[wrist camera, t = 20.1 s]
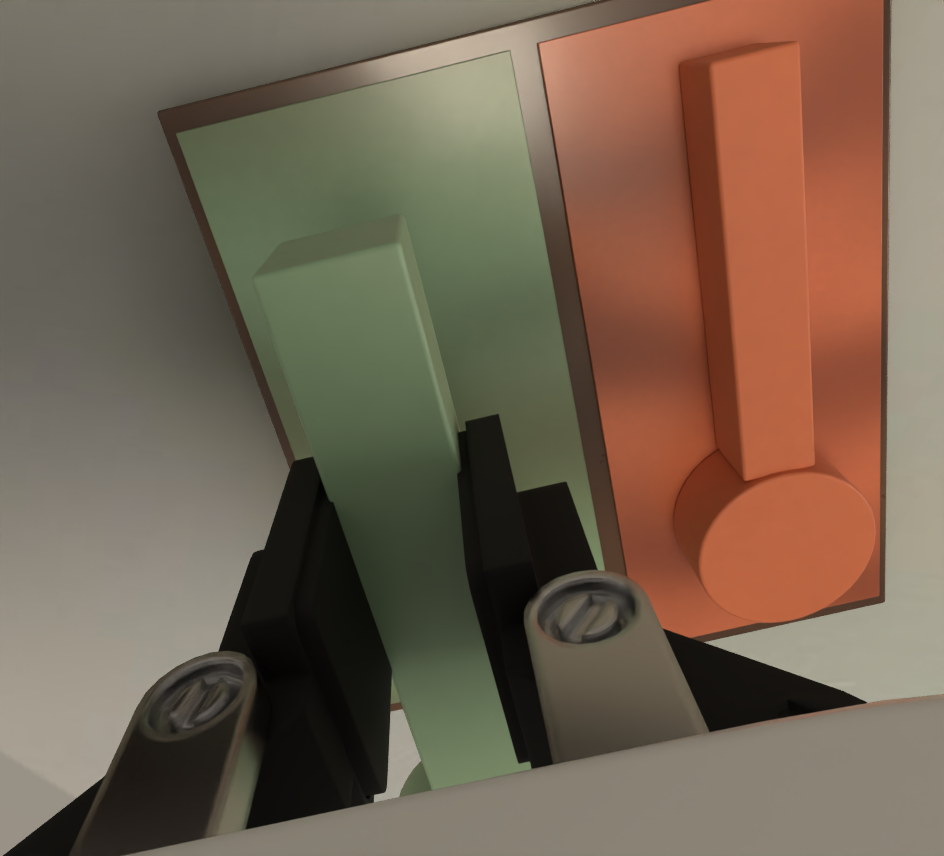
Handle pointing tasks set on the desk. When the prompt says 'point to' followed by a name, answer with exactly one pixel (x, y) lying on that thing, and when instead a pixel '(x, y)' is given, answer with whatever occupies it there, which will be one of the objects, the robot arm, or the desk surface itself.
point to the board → (574, 245)
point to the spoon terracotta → (760, 353)
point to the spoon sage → (391, 477)
